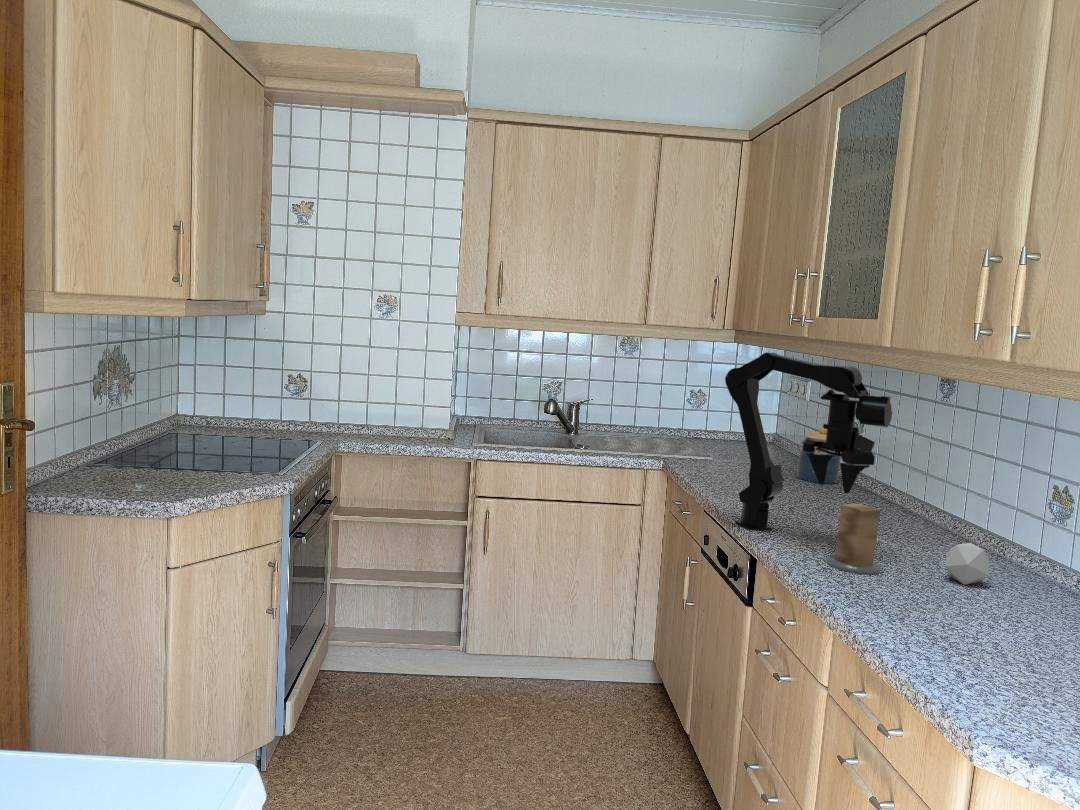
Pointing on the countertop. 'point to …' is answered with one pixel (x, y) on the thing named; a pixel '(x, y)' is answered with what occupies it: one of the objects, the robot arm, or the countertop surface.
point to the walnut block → (857, 535)
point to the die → (967, 563)
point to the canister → (805, 465)
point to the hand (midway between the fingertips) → (833, 488)
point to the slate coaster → (860, 570)
